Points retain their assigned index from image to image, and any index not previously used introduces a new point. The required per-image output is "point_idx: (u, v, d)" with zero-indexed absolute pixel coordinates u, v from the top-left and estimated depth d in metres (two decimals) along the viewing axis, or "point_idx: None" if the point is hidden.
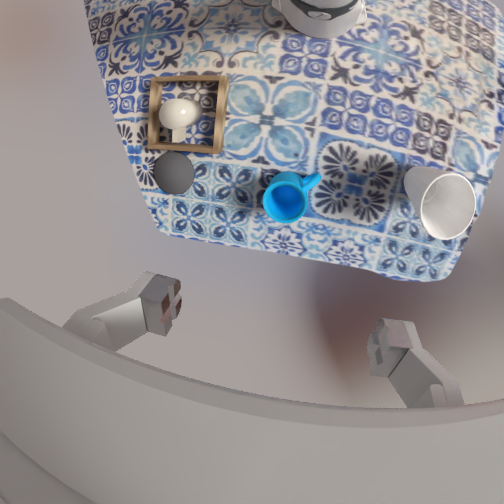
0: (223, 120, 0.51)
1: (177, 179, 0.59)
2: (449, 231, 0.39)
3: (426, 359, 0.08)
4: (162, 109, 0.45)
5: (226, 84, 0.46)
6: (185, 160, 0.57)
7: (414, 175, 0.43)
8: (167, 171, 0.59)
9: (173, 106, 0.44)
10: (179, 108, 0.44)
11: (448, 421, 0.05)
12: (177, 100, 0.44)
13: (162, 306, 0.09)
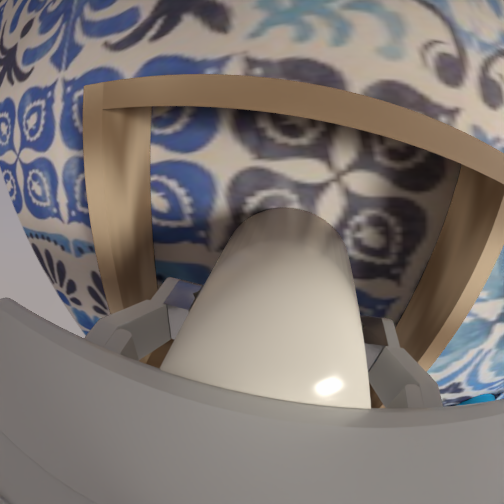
0: None
1: None
2: None
3: (403, 358, 0.08)
4: None
5: None
6: None
7: None
8: None
9: None
10: None
11: (448, 421, 0.05)
12: (312, 377, 0.05)
13: None
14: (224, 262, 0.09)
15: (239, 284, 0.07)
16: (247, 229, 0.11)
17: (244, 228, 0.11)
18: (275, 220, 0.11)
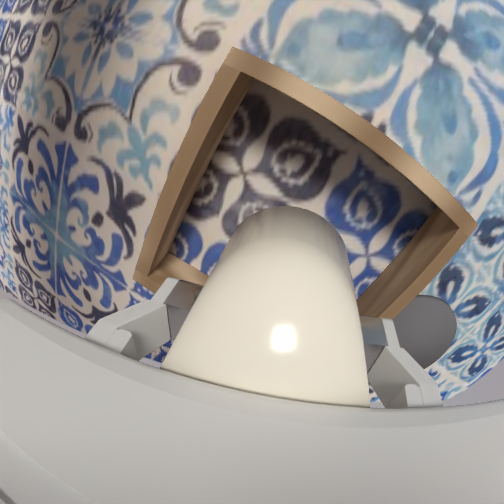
0: None
1: (424, 341, 0.20)
2: None
3: (403, 357, 0.08)
4: None
5: None
6: (408, 307, 0.18)
7: None
8: None
9: (264, 388, 0.06)
10: (315, 403, 0.06)
11: (448, 421, 0.05)
12: (311, 365, 0.05)
13: None
14: (226, 258, 0.10)
15: (240, 278, 0.08)
16: (248, 227, 0.11)
17: (245, 226, 0.12)
18: (275, 218, 0.11)
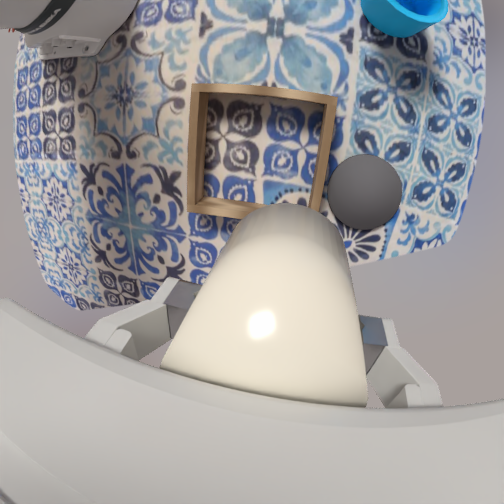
0: None
1: (377, 187, 0.32)
2: None
3: (403, 357, 0.08)
4: (180, 370, 0.07)
5: None
6: (346, 165, 0.31)
7: None
8: (361, 203, 0.33)
9: (264, 379, 0.06)
10: (314, 394, 0.06)
11: (448, 421, 0.05)
12: (310, 355, 0.06)
13: None
14: (226, 253, 0.10)
15: (241, 272, 0.08)
16: (248, 223, 0.11)
17: (245, 222, 0.12)
18: (275, 215, 0.11)
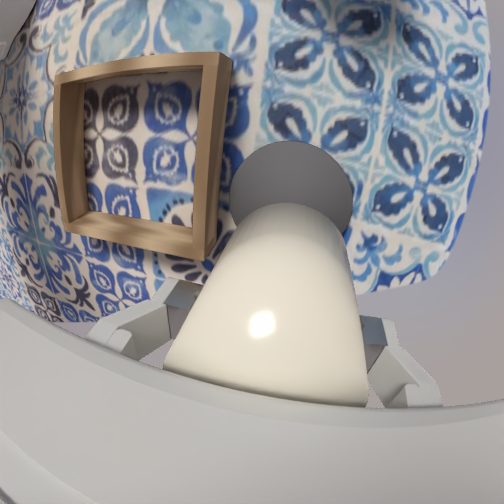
0: None
1: (308, 192, 0.21)
2: None
3: (403, 357, 0.08)
4: (183, 368, 0.07)
5: None
6: (254, 161, 0.21)
7: None
8: None
9: (266, 376, 0.06)
10: (316, 391, 0.06)
11: (448, 421, 0.05)
12: (311, 351, 0.06)
13: None
14: (228, 253, 0.10)
15: (243, 271, 0.08)
16: (249, 223, 0.12)
17: (246, 222, 0.12)
18: (276, 214, 0.11)
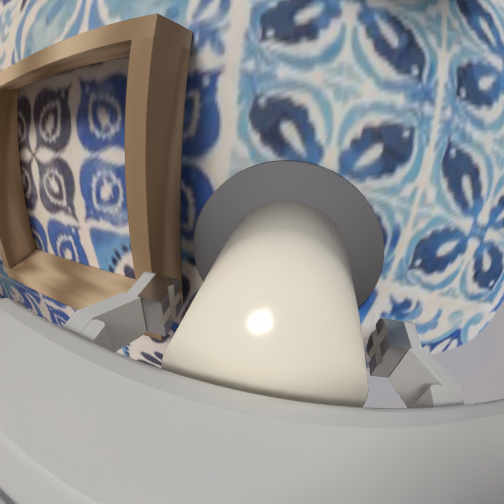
0: None
1: None
2: None
3: (426, 359, 0.08)
4: (182, 363, 0.07)
5: None
6: (228, 194, 0.13)
7: None
8: None
9: (265, 370, 0.06)
10: (315, 386, 0.06)
11: (448, 421, 0.05)
12: (310, 345, 0.06)
13: (162, 306, 0.09)
14: (228, 249, 0.10)
15: (242, 266, 0.08)
16: (249, 220, 0.12)
17: (246, 220, 0.12)
18: (275, 212, 0.11)
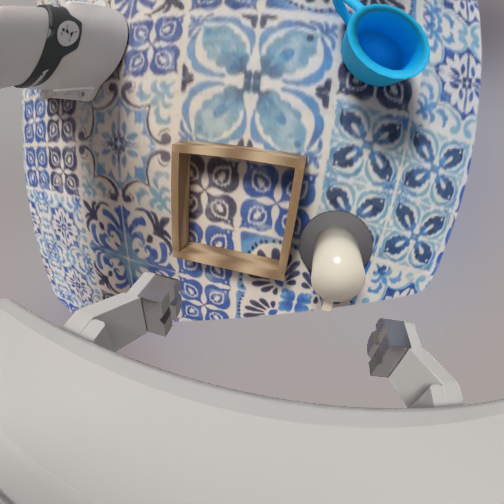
0: (250, 148, 0.32)
1: None
2: None
3: (426, 359, 0.08)
4: (320, 269, 0.29)
5: (189, 143, 0.32)
6: (316, 222, 0.35)
7: None
8: None
9: (341, 268, 0.28)
10: (352, 273, 0.28)
11: (448, 421, 0.05)
12: (351, 260, 0.27)
13: (162, 306, 0.09)
14: (323, 241, 0.32)
15: (332, 245, 0.30)
16: (326, 232, 0.33)
17: (324, 232, 0.34)
18: (335, 229, 0.33)
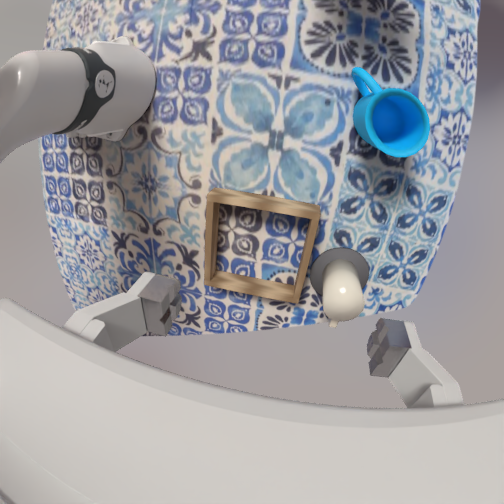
0: (273, 199, 0.40)
1: None
2: None
3: (426, 358, 0.08)
4: (330, 298, 0.37)
5: (221, 192, 0.40)
6: (325, 257, 0.43)
7: None
8: None
9: (346, 298, 0.37)
10: (354, 301, 0.37)
11: (448, 421, 0.05)
12: (354, 292, 0.36)
13: (162, 306, 0.09)
14: (331, 274, 0.40)
15: (339, 279, 0.38)
16: (333, 266, 0.42)
17: (332, 265, 0.42)
18: (340, 263, 0.42)
